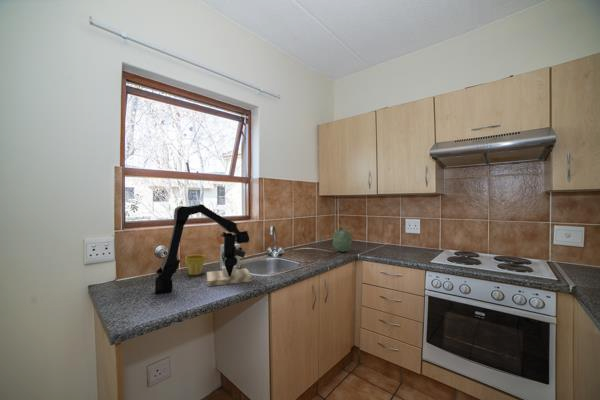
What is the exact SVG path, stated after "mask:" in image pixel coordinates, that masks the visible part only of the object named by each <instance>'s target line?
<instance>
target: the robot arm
mask: <svg viewBox="0 0 600 400" xmlns="http://www.w3.org/2000/svg"><path fill="white" fill-rule="evenodd" d="M199 213H200V214H201V215H203V216H204V217H206V218H207V219H210V220H211V221H213V222H215V223H216V224H218V225H219V227H220V228H221V229H223V230H224V231H223V232H222V233H221V234H219V237H222V238H223V244H224V246H223V248H224V252H223V253H222V259H223V262H224V265H225V267H226V270H227V272H228V275H229V276H231V274H232V270H233V267H234V266H235V265H236V264H237V258H236V255H237V256H240V258H245V255H246V251H245V250H243V248H242V246H240V247H239V248H238V249H237V248H236V247H235V244H248V243H249V241H250V237H249V234H248V230H241V231H240V230H239V228H238V227H237V226H238V225H237V223H236V222H234V221H232V220H231V219H230V220H229V219H227V218H225V217H223V216H221V215H219V214H218V213H216V212H215V211H213V210H211V209H210V208H208V207H207V206H205V205H204V204H200V203H198V204H194V205H189V206H184V205H179V206H177V207H175V209H174V210H173V221H174V222H173V223H174V224H173V225H174V226H173V228H172V232H171V236H170V241H169V245H168V250H167V252H166V255H165V256H164V258H163V260H162V263H161V265H160V266H159V268H158V269H157V270H156V271H155V275H156V278H154V279H155V284H154V285H155V286H154V287H155V288H154V294H155V295H158V294H159V295H160V294H169V293H171V292H172V290H173V289H174V279H173V275H174V274H175V273H177V270H179V265H180V262H181V259H180V258H178V253H179V252H178V251H179V248H180V247H179V246H180V243H181V239H182V235H183V230H184V227H185V225H186V223H187V222H188V219H189V217H190V216H193V215H195V214H199ZM223 256H224V257H223Z"/></svg>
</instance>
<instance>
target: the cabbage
mask: <svg viewBox="0 0 600 400" xmlns="http://www.w3.org/2000/svg"><path fill="white" fill-rule="evenodd" d="M352 244H353V235H352V234H351V232H349V229H348V228H345V229H344V228H342V229H341V228H338V229H335V231H334V233H333V237H332V246H333V248H334V249H335V251H337V252H338V251H340V252H339V253H346V252H348V251H349V250H350V248H351V247H352ZM345 251H346V252H345Z"/></svg>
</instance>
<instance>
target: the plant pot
mask: <svg viewBox="0 0 600 400" xmlns="http://www.w3.org/2000/svg"><path fill="white" fill-rule="evenodd" d="M184 261H185V264H186V268H187V272H188V275H189V276H198V275H201V273H202V271H203V267H204V263H205V262H206V256H205V254H204V255H203V254H192V255H191V254H190V255H188V256H185V259H184Z"/></svg>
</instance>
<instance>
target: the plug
mask: <svg viewBox="0 0 600 400" xmlns="http://www.w3.org/2000/svg"><path fill="white" fill-rule="evenodd" d="M221 271H222V276H229V275H228V272H227V270H226V267H225V266H222V269H221ZM231 275H236V266H234V267H233V270H232V274H231Z"/></svg>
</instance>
